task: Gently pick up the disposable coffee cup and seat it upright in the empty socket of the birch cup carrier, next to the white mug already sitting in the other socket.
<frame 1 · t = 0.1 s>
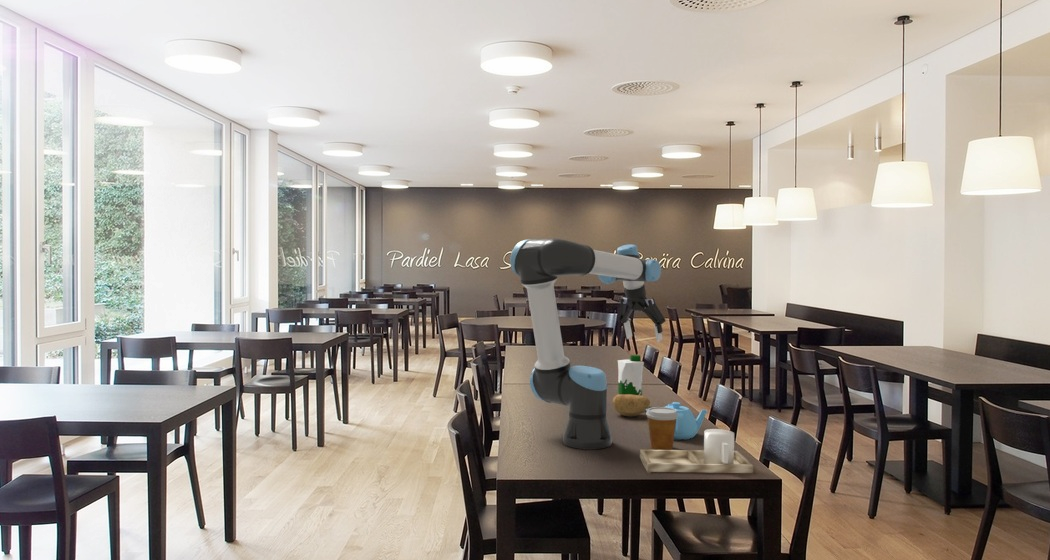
hand: (644, 339, 252), 28 cm above the table, tool tilted 20°, fingers open, 13 cm apart
teapot: (675, 435, 220), on the table
milk carton: (629, 406, 264), on the table
disposable coffee cup: (661, 450, 202), on the table
white mug: (718, 464, 185), resting on cup carrier
cup carrier: (694, 466, 186), on the table
potato: (630, 416, 247), on the table
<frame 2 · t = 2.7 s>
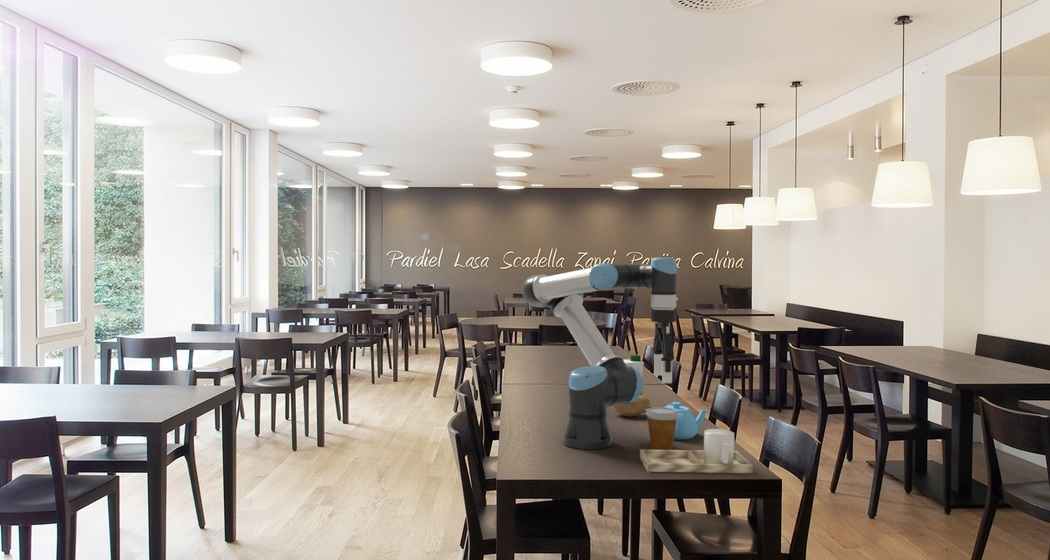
hand: (662, 379, 202), 21 cm above the table, tool pointing down, fingers open, 13 cm apart
nothing on the table moved.
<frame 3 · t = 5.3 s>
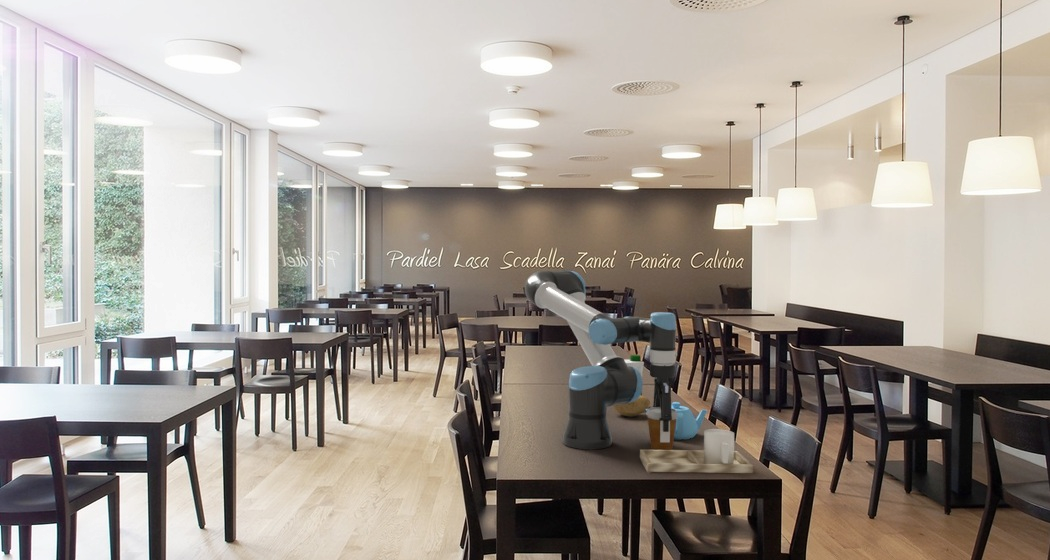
hand: (661, 437, 202), 4 cm above the table, tool pointing down, fingers closed on disposable coffee cup, 9 cm apart
disposable coffee cup: (661, 450, 202), on the table, touching gripper
everything else where it was.
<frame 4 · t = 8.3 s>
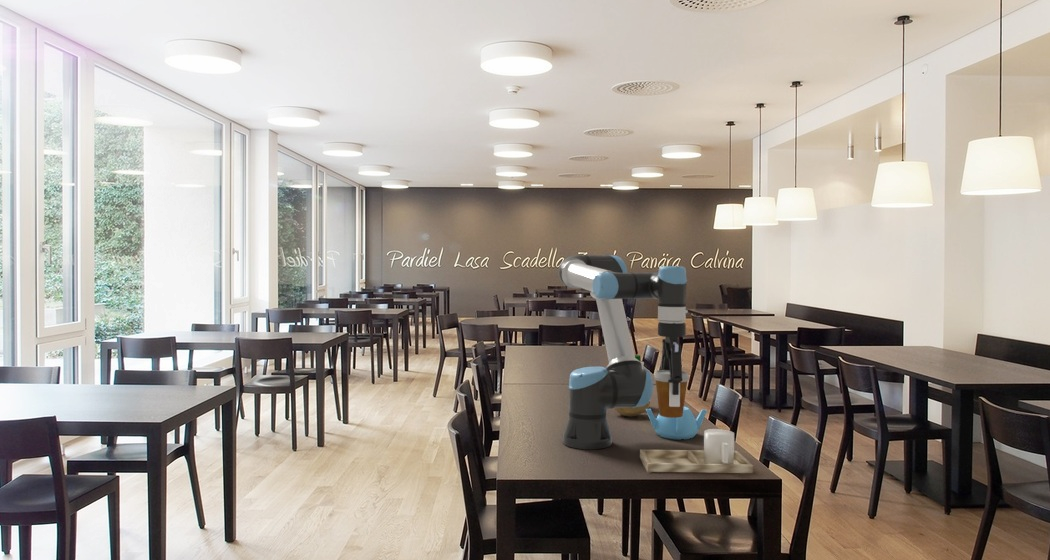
hand: (670, 402, 185), 18 cm above the table, tool pointing down, fingers closed on disposable coffee cup, 9 cm apart
disposable coffee cup: (670, 416, 185), point 14 cm above the table, touching gripper
everything else where it was.
when the fingers open (5 cm above the table, at t = 11.3 s): disposable coffee cup stays where it is, resting on cup carrier.
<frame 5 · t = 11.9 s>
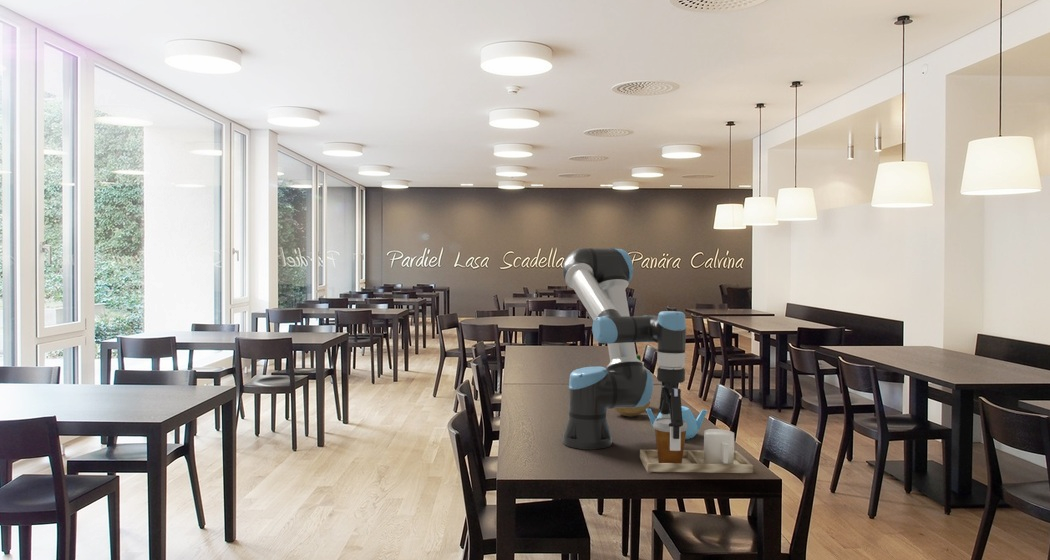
hand: (670, 443, 185), 6 cm above the table, tool pointing down, fingers open, 13 cm apart
disposable coffee cup: (670, 464, 186), resting on cup carrier
everything else where it was.
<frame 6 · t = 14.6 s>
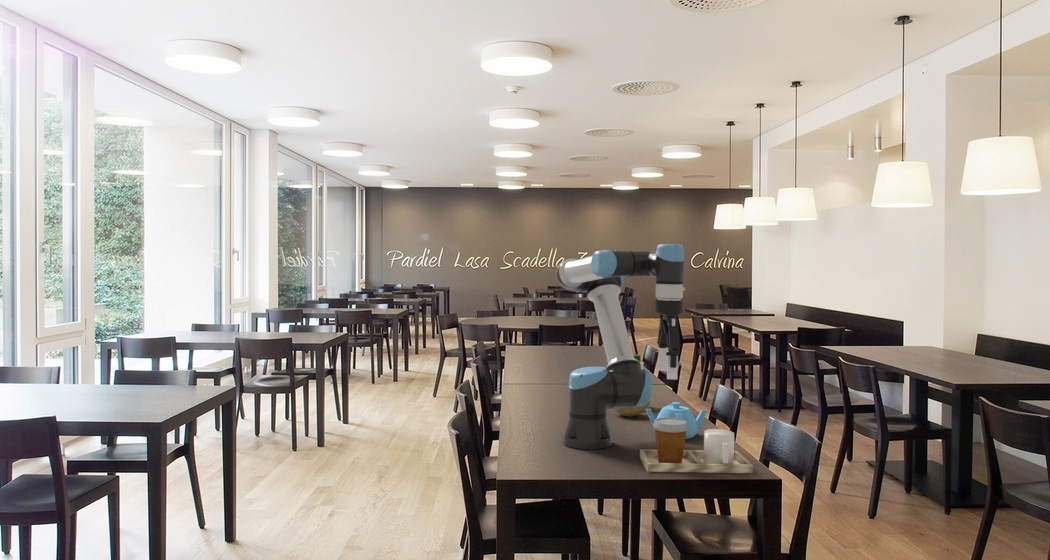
hand: (667, 374, 188), 25 cm above the table, tool pointing down, fingers open, 13 cm apart
nothing on the table moved.
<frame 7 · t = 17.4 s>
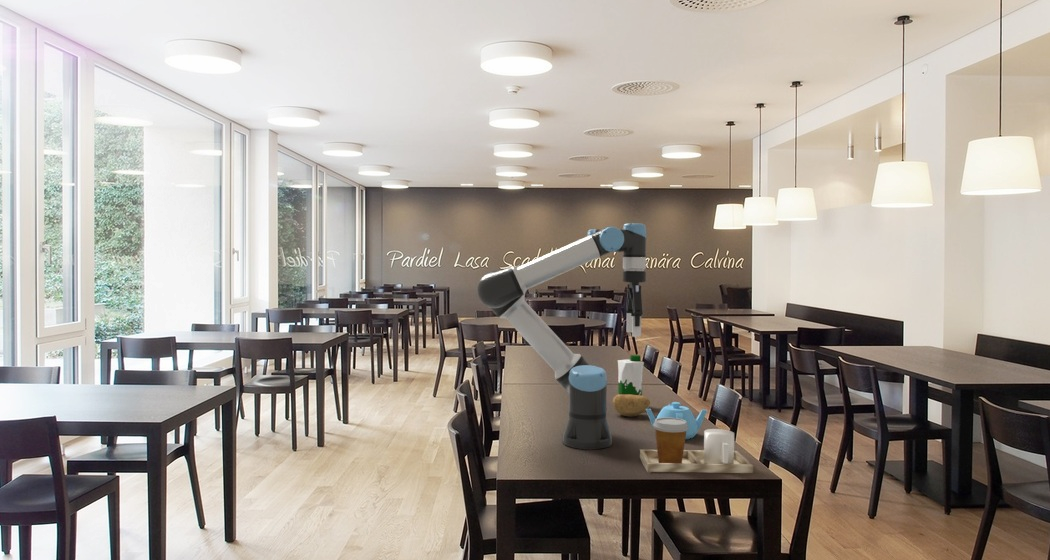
hand: (633, 334, 221), 33 cm above the table, tool pointing down, fingers open, 13 cm apart
nothing on the table moved.
at the end: disposable coffee cup inside the target area on the cup carrier (0.2 cm from its centre), point 0.3 cm above the cup carrier's base; disposable coffee cup tilted 0°; the gripper is holding nothing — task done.
